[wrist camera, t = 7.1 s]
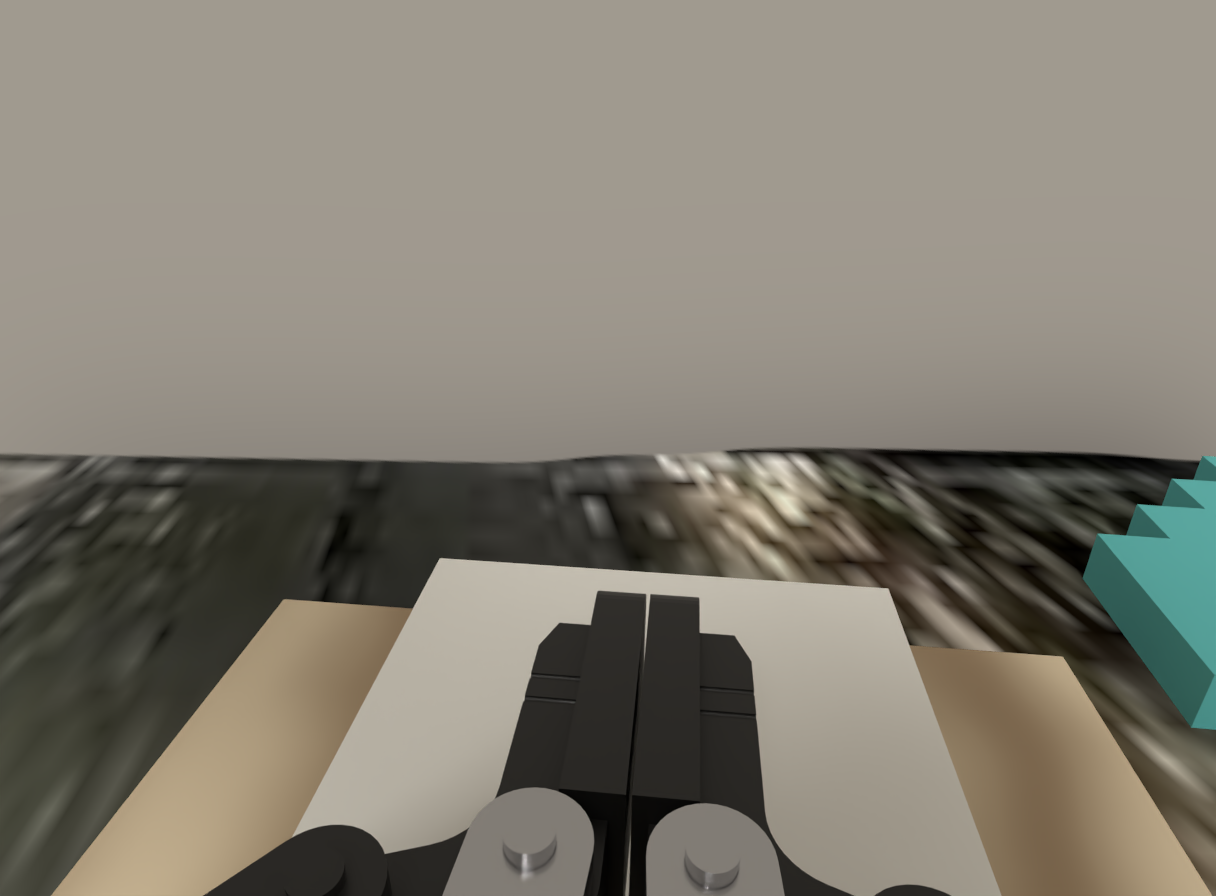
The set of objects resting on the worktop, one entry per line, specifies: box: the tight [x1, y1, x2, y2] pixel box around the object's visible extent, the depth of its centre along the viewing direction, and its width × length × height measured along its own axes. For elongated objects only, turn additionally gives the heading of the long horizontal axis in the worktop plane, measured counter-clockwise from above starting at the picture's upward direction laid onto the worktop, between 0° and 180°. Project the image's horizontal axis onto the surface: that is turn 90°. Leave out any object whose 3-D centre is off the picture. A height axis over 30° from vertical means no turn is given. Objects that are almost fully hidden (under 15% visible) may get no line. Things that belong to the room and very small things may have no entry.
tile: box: [292, 558, 1002, 896], centre depth 16 cm, size 12×2×11 cm
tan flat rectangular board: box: [51, 599, 1212, 896], centre depth 16 cm, size 22×15×1 cm
